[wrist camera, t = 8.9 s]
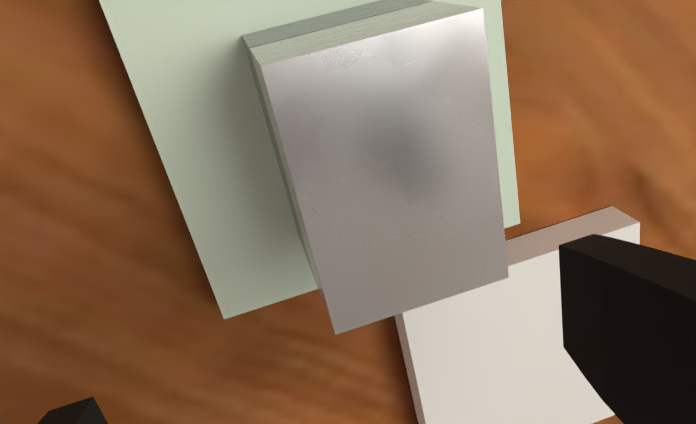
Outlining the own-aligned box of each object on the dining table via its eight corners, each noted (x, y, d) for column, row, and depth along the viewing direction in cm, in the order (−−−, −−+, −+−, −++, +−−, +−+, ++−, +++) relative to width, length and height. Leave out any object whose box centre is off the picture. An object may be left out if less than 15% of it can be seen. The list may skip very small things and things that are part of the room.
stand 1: (498, 206, 20) (520, 223, 18) (222, 294, 19) (223, 319, 17) (464, -114, 15) (489, -122, 14) (99, -27, 14) (89, -26, 13)
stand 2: (612, 383, 25) (636, 406, 24) (424, 453, 24) (438, 481, 22) (611, 206, 21) (639, 222, 20) (386, 279, 20) (400, 302, 19)
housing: (430, 199, 17) (508, 277, 13) (299, 238, 17) (335, 335, 12) (398, -5, 15) (483, 8, 10) (241, 35, 14) (261, 66, 10)
